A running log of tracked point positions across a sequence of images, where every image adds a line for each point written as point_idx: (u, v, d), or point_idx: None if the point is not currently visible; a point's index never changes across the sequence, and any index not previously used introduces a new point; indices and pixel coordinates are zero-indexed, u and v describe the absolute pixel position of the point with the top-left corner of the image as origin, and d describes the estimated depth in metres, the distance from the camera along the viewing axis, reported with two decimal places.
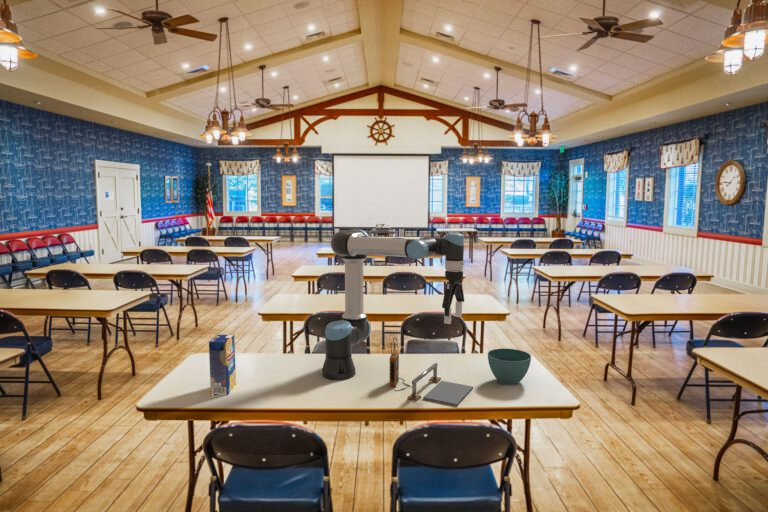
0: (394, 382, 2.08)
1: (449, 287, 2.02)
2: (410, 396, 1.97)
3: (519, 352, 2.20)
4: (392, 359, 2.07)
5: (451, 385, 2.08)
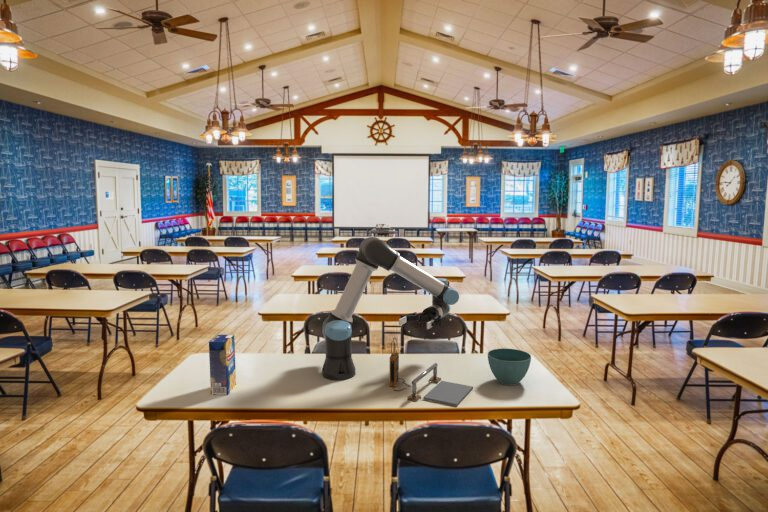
0: (394, 382, 2.08)
1: None
2: (410, 396, 1.97)
3: (519, 352, 2.20)
4: (392, 359, 2.07)
5: (451, 385, 2.08)
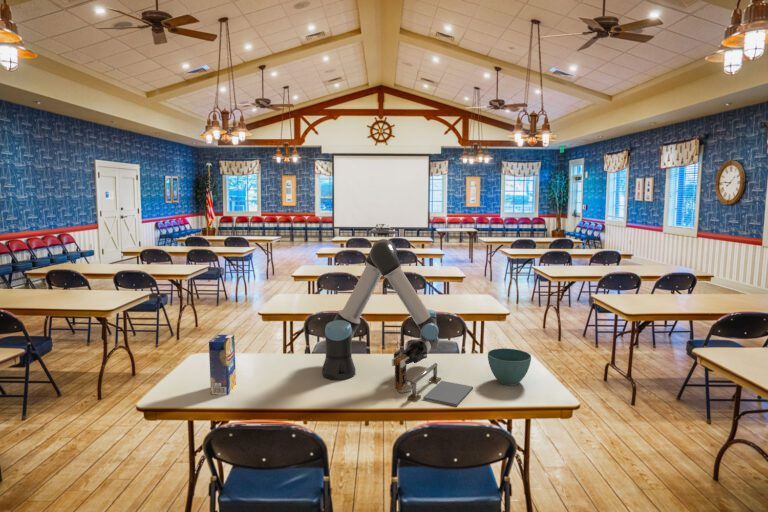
0: (399, 384, 2.06)
1: (425, 356, 2.16)
2: (410, 396, 1.97)
3: (520, 352, 2.20)
4: (397, 361, 2.05)
5: (451, 385, 2.08)
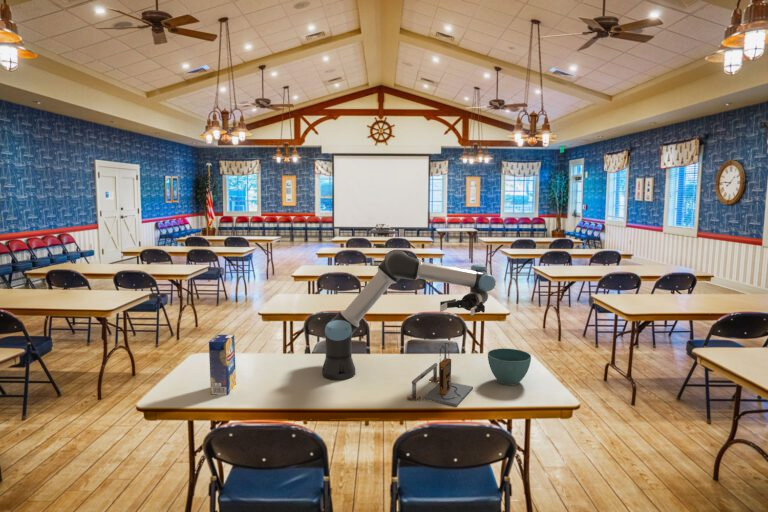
0: (443, 390, 1.98)
1: None
2: (410, 396, 1.97)
3: (519, 352, 2.20)
4: (441, 365, 1.97)
5: (451, 385, 2.08)
